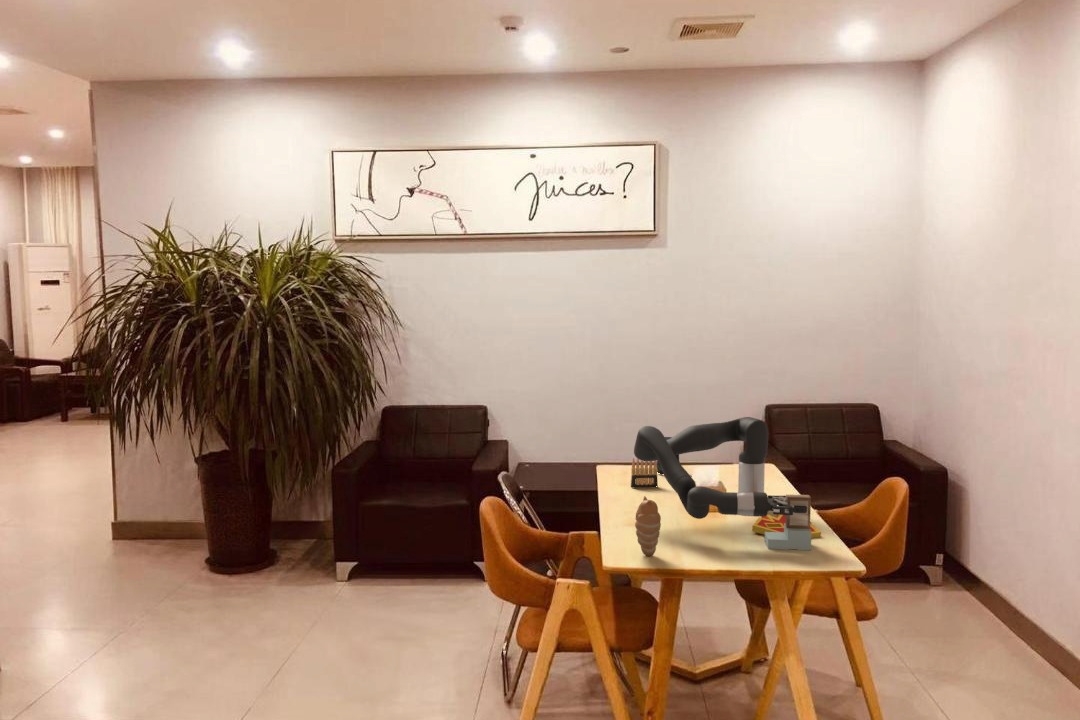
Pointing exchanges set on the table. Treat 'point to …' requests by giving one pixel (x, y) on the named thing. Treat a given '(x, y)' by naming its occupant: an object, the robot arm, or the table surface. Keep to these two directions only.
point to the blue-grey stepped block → (789, 539)
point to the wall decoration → (777, 525)
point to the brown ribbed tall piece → (648, 526)
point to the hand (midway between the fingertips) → (804, 505)
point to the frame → (798, 518)
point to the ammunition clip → (644, 474)
